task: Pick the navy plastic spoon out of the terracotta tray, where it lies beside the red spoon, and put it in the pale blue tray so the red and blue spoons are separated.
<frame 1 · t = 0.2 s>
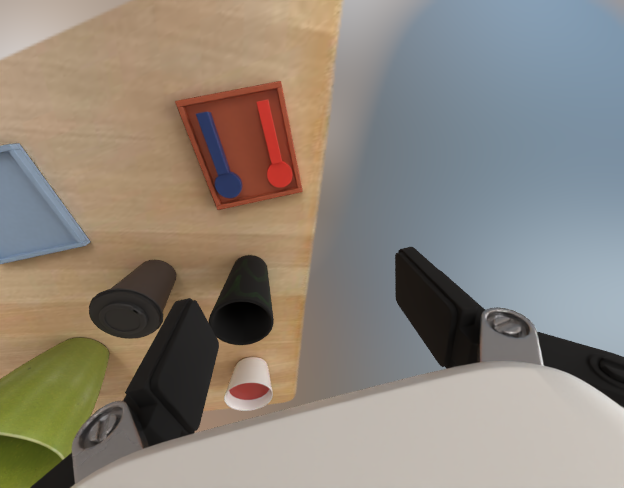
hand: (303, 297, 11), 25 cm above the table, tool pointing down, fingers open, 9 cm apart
cup: (250, 268, 39), on the table
blue spoon: (220, 156, 30), resting on red tray
blue tray: (10, 207, 30), on the table
candle: (251, 365, 50), on the table
flower pot: (85, 350, 42), on the table
coffee cup: (158, 273, 37), on the table
red tray: (247, 150, 31), on the table
red spoon: (273, 145, 31), resting on red tray
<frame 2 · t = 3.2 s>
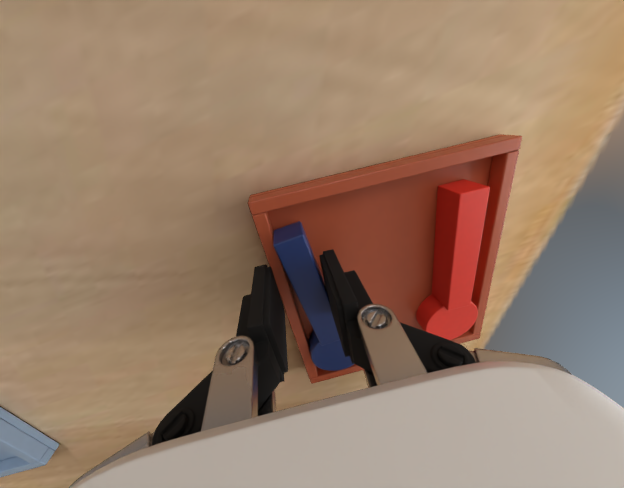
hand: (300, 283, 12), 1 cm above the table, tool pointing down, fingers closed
blue spoon: (317, 298, 14), resting on red tray, touching gripper
red tray: (384, 275, 14), on the table
red spoon: (443, 264, 14), resting on red tray
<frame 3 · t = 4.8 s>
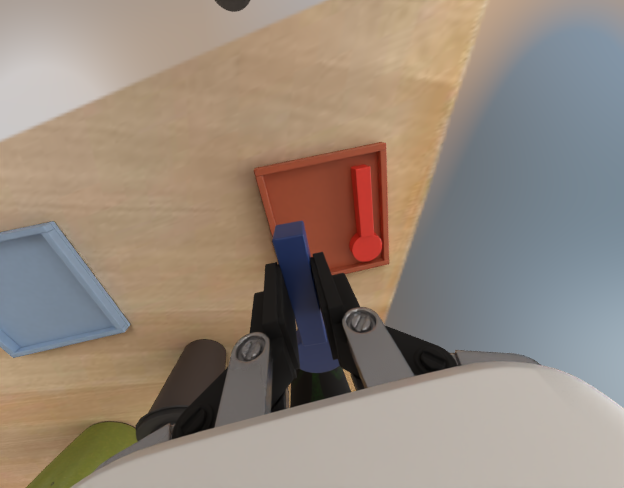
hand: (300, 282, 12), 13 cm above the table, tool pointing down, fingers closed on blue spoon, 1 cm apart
cup: (311, 343, 33), on the table
blue spoon: (307, 299, 14), point 12 cm above the table, tilted 6°, touching gripper
blue tray: (36, 292, 24), on the table
flower pot: (112, 433, 36), on the table
coffee cup: (205, 352, 31), on the table
red tray: (328, 219, 25), on the table
red spoon: (361, 213, 25), resting on red tray
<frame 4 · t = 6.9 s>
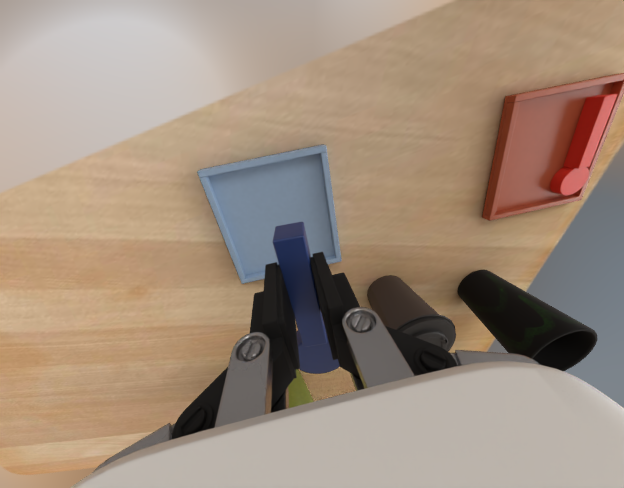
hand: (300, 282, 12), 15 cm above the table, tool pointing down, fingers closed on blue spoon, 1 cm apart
cup: (474, 284, 35), on the table
blue spoon: (308, 300, 14), point 14 cm above the table, tilted 5°, touching gripper
blue tray: (278, 218, 26), on the table
flower pot: (274, 372, 38), on the table
coffee cup: (385, 290, 33), on the table
red tray: (542, 153, 27), on the table
red spoon: (574, 147, 27), resting on red tray
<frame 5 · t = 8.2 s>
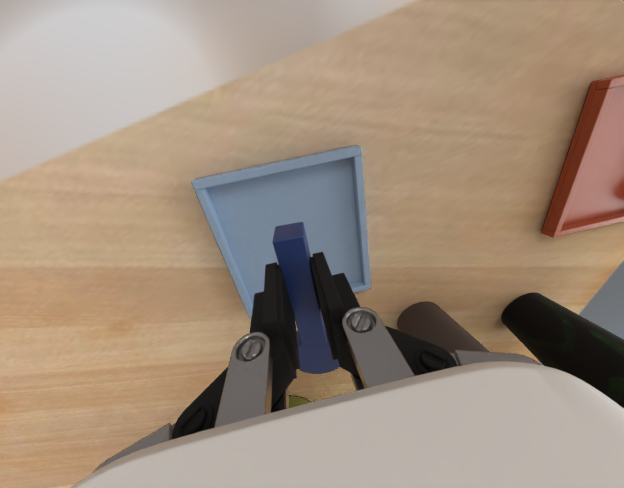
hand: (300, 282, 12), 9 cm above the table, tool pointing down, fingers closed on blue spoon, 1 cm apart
cup: (521, 308, 30), on the table
blue spoon: (307, 300, 14), point 8 cm above the table, tilted 5°, touching gripper
blue tray: (295, 238, 21), on the table
coffee cup: (417, 317, 28), on the table
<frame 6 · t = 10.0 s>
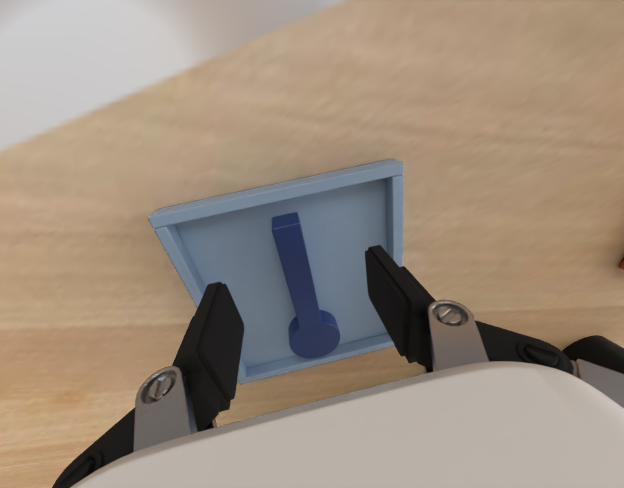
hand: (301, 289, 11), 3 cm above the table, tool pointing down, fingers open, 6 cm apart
cup: (576, 353, 24), on the table
blue spoon: (302, 287, 15), resting on blue tray
blue tray: (303, 284, 15), on the table
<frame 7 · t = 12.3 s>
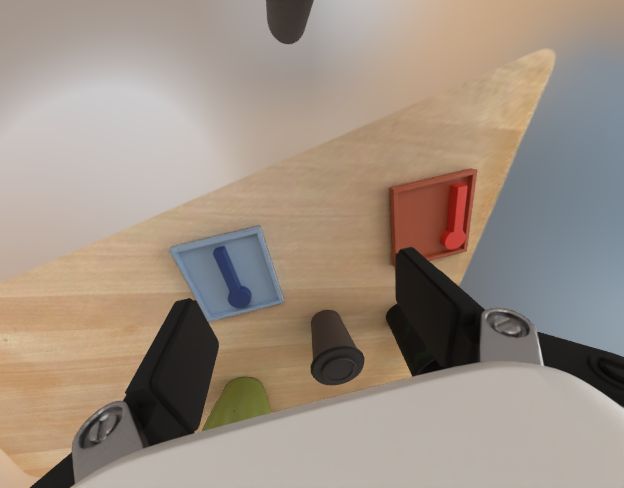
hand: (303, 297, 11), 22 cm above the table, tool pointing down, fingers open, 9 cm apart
cup: (399, 313, 44), on the table
blue spoon: (232, 275, 35), resting on blue tray
blue tray: (233, 274, 35), on the table
flower pot: (243, 387, 47), on the table
coffee cup: (325, 320, 42), on the table
red tray: (428, 220, 36), on the table
red spoon: (452, 216, 36), resting on red tray
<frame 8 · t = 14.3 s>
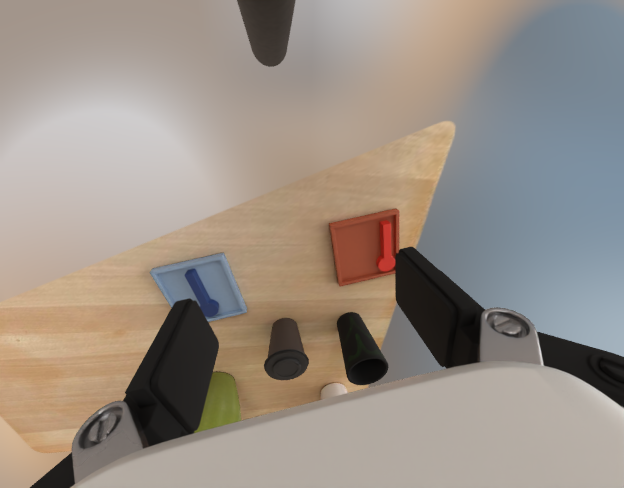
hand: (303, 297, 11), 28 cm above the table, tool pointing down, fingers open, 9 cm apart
cup: (348, 321, 52), on the table
blue spoon: (202, 291, 43), resting on blue tray
blue tray: (203, 290, 43), on the table
candle: (332, 389, 63), on the table
flower pot: (217, 380, 55), on the table
coffee cup: (284, 326, 50), on the table
red tray: (365, 248, 44), on the table
red spoon: (384, 244, 44), resting on red tray
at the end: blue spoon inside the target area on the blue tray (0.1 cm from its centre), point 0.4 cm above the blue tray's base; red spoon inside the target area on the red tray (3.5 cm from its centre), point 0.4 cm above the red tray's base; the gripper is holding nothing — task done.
